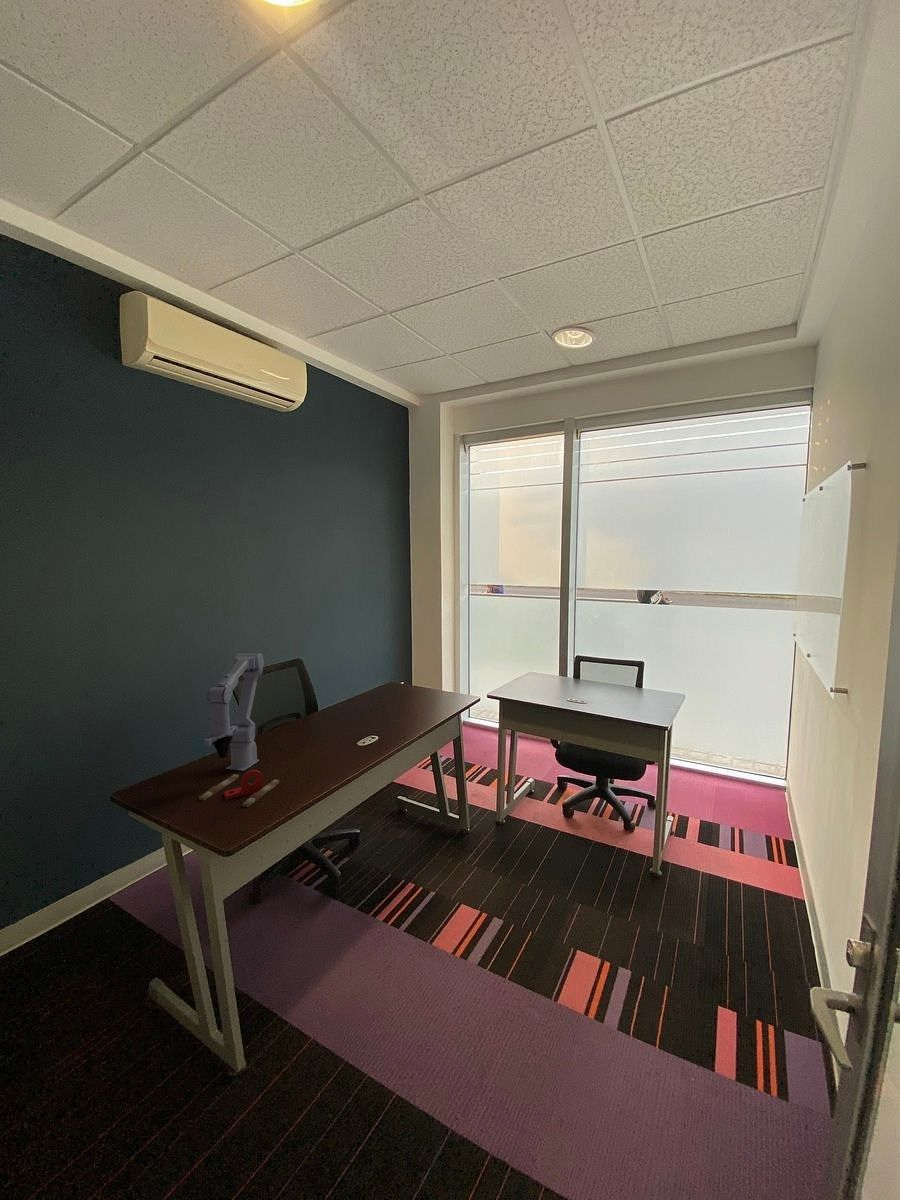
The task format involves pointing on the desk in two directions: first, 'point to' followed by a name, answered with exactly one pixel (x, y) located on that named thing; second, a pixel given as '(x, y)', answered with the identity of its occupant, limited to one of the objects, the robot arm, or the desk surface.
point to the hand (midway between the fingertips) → (222, 757)
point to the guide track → (231, 779)
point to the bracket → (246, 785)
